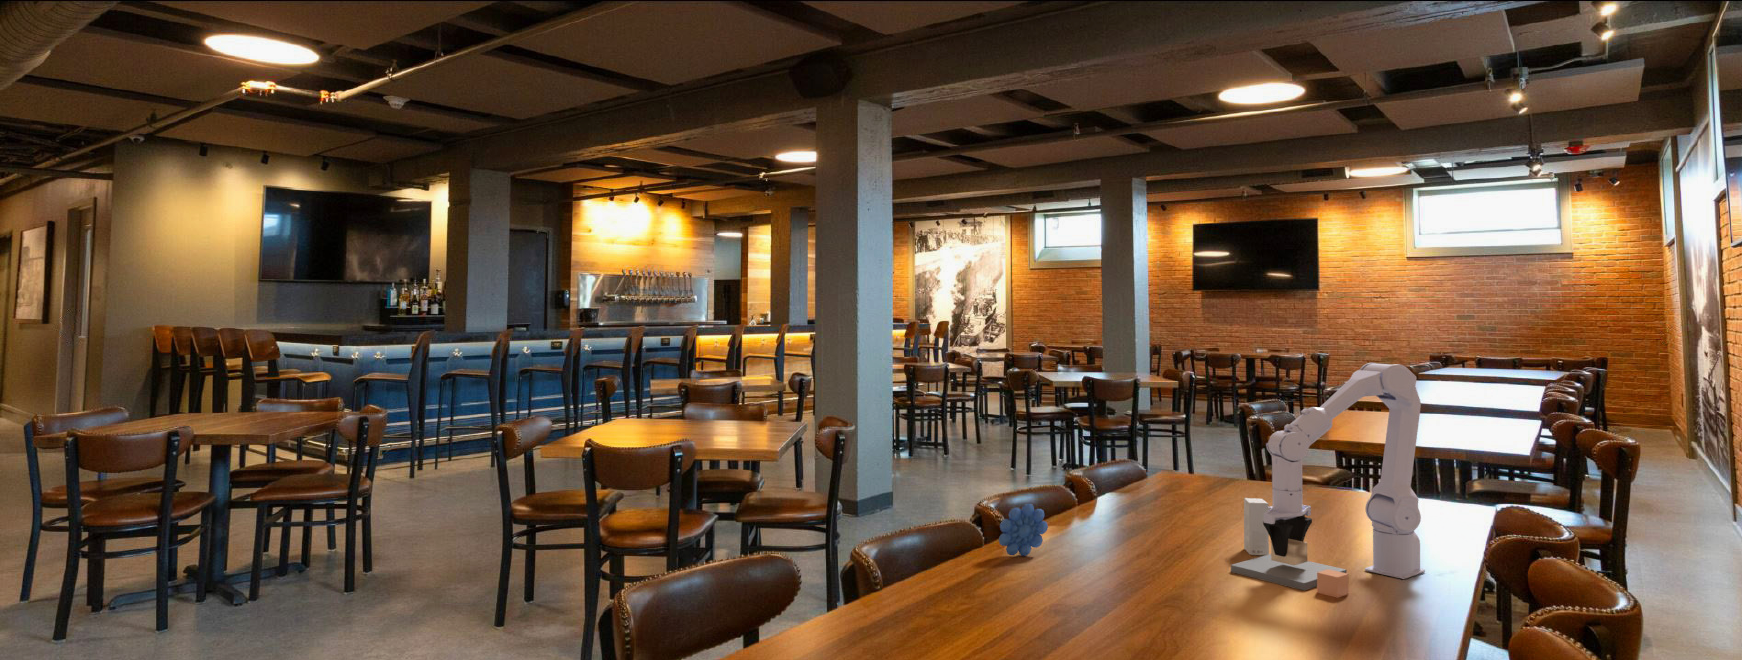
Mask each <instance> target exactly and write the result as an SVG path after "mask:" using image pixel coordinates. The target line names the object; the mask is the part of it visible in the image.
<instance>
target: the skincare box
mask: <svg viewBox="0 0 1742 660" xmlns="http://www.w3.org/2000/svg"><path fill="white" fill-rule="evenodd" d="M1268 507H1270V506H1269V502H1267V501H1266V500H1264V498H1255V497H1254V498H1249V497H1244V498H1243V549H1244V550H1245V551H1246V552H1247V553H1248V555H1251V556H1265V555H1269V554H1270V550H1269V549H1270V546H1269V545H1270V542H1269V541H1270V536H1269V534H1268V532H1267V530H1266V528H1265V527H1264V525H1263V520H1264V518H1263V514H1264V513H1266V512H1268V511H1269V510H1268Z"/></svg>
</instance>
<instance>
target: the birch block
mask: <svg viewBox="0 0 1742 660" xmlns="http://www.w3.org/2000/svg"><path fill="white" fill-rule="evenodd" d="M1270 554H1271V560H1272V561H1277V562H1281V563H1285V564H1290V565H1294V566H1295V565H1298V564H1301V563H1305V562H1308V561H1309V560H1308V541H1303V542H1302V541H1297V540H1293V539H1288V548H1287V554H1286V556H1285V557H1283V556H1279V555H1275V552H1274V549H1273V545H1272V542H1271V541H1270Z"/></svg>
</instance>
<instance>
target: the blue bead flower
mask: <svg viewBox="0 0 1742 660" xmlns="http://www.w3.org/2000/svg"><path fill="white" fill-rule="evenodd" d="M1045 517H1046V516H1045V511H1044V509H1042V508H1037V509H1035V507H1034V505H1033V504H1032V503H1025V504H1024V505H1022V508H1021V509H1020V507H1013V508H1011V509H1010V510H1009V512H1008V518H1005V519H1003V520H1002V521H1000V524H999V528H1000V532H1002V533H1001V534H1000V536H999V537H998V542H999V545H1000V546H1002V547H1006V548H1005V550H1006V551H1005V552H1006V554H1007V555H1009V556H1015V555H1017V553H1018V554H1019V555H1020V556H1022V557H1025V556H1028V555H1029V554H1031V551H1032V548H1034V549H1035V548H1036V549H1037V548H1039V547H1040V546H1041V545H1042V544H1043V540H1044V538H1043V536H1042V535H1043V534H1045V533H1046V532H1047V531H1048V530H1049V529H1048V528H1049V526H1048V522H1047V521H1046V520H1044V518H1045Z"/></svg>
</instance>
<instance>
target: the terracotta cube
mask: <svg viewBox="0 0 1742 660" xmlns="http://www.w3.org/2000/svg"><path fill="white" fill-rule="evenodd" d="M1349 590H1350V589H1349V573H1348V572H1347V573H1342V572H1338V571H1334V570H1329V569H1327V570H1324V571H1320V572H1317V587H1316V591H1317V592H1316V593H1318V594H1322V595H1325V596H1330V597H1334V598H1341V597H1345V596H1347V595H1349V593H1350V591H1349Z"/></svg>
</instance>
